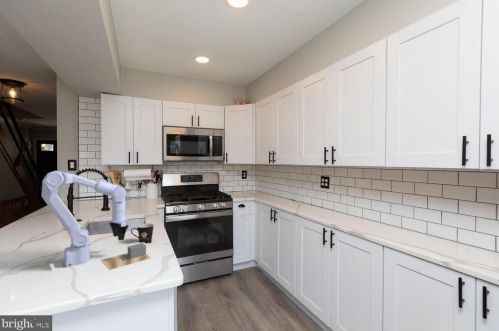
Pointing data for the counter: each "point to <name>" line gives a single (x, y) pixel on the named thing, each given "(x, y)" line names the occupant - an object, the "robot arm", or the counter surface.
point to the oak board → (121, 261)
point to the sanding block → (136, 251)
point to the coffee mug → (145, 232)
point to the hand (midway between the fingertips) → (118, 238)
